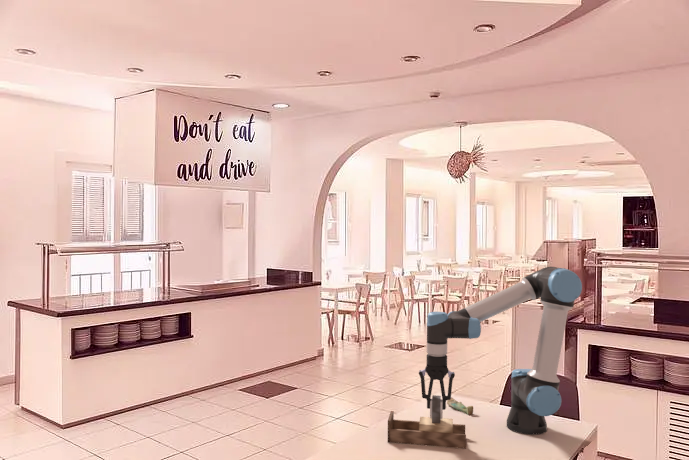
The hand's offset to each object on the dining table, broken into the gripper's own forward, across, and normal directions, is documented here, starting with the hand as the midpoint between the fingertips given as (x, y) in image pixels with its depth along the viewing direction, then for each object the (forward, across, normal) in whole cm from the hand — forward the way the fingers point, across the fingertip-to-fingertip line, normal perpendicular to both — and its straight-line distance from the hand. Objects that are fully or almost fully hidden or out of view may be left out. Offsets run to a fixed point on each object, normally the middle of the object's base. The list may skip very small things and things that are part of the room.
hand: (436, 417), depth 206 cm
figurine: (+9, -9, -38) cm, 40 cm away
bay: (+9, +3, 0) cm, 9 cm away
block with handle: (+7, 0, 0) cm, 7 cm away
